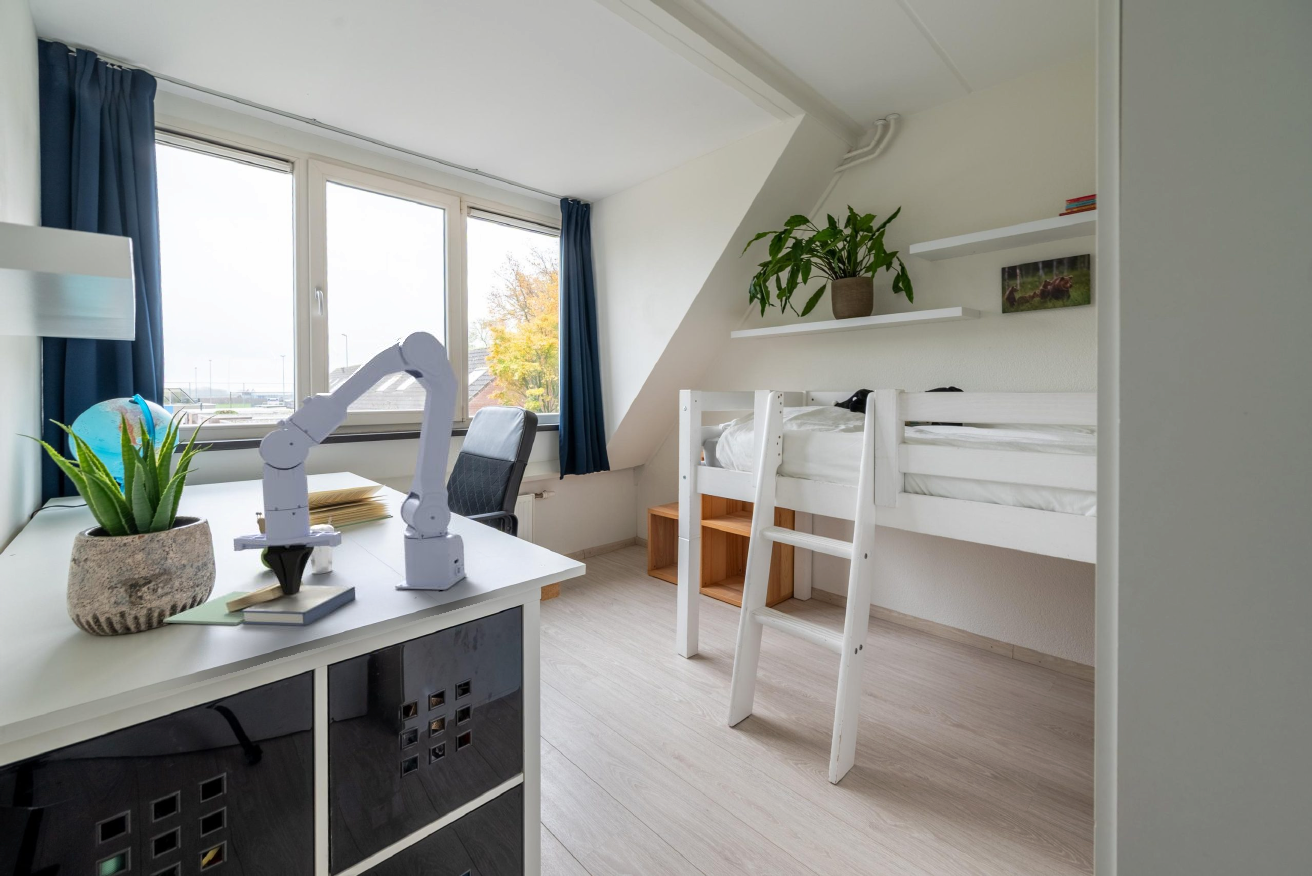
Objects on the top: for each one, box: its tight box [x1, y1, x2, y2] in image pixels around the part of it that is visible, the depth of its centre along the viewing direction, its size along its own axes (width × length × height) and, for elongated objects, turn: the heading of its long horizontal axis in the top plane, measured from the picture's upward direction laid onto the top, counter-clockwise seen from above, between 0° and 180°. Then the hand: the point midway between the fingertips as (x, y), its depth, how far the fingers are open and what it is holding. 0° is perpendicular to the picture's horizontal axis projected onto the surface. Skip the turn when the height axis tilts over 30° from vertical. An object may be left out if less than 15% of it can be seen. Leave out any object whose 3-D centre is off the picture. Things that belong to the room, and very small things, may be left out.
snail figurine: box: [255, 511, 272, 570], centre depth 105 cm, size 5×6×12 cm
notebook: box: [242, 584, 356, 627], centre depth 85 cm, size 10×11×2 cm
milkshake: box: [309, 516, 335, 575], centre depth 104 cm, size 5×5×10 cm
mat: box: [163, 591, 258, 626], centre depth 86 cm, size 12×12×1 cm
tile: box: [226, 580, 304, 612], centre depth 86 cm, size 8×6×2 cm
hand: (291, 593), depth 85 cm, fingers closed
